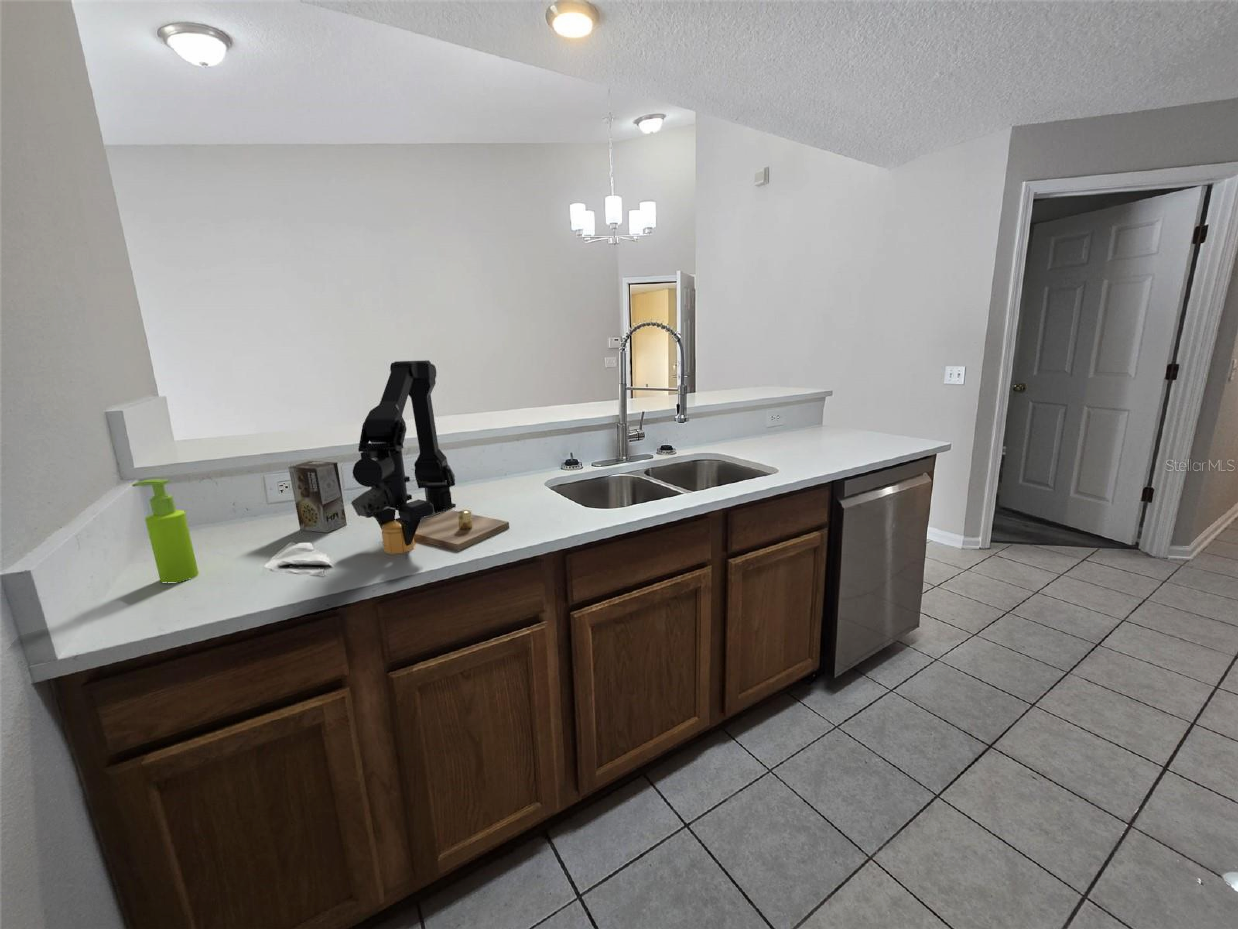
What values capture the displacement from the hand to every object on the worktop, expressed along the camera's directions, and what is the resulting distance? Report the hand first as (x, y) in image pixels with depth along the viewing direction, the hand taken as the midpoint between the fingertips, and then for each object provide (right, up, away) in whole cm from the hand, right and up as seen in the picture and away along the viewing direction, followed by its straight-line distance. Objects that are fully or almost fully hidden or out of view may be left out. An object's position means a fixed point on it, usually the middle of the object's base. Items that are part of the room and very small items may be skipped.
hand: (399, 542), depth 118 cm
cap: (0, -1, 0) cm, 1 cm away
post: (+13, +2, +7) cm, 15 cm away
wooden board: (+9, +1, +10) cm, 13 cm away
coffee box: (-25, +1, +15) cm, 29 cm away
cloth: (-19, -4, -4) cm, 20 cm away
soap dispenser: (-39, -5, -12) cm, 41 cm away
